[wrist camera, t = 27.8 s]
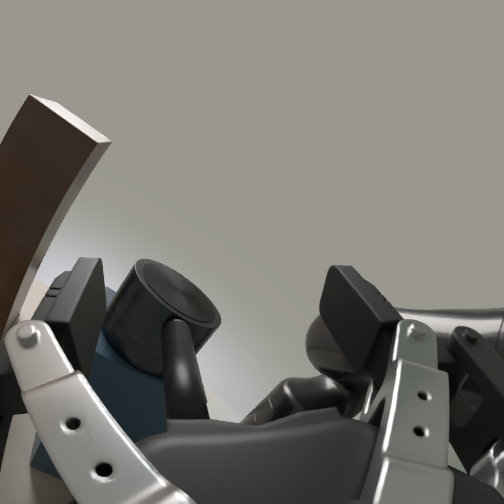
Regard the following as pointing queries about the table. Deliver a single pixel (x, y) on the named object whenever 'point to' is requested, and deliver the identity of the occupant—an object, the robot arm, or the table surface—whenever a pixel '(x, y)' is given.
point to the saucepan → (163, 332)
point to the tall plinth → (38, 190)
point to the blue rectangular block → (119, 398)
